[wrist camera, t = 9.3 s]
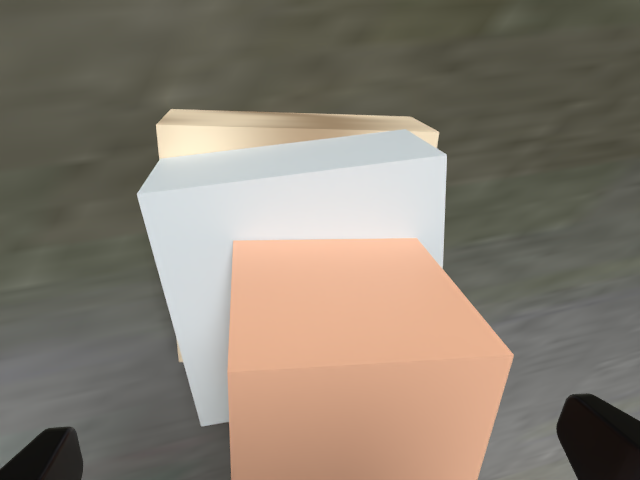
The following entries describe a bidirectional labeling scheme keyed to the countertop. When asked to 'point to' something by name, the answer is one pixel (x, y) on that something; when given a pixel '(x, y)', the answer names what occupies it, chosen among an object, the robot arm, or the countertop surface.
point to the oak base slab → (267, 131)
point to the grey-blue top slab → (276, 224)
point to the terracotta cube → (356, 364)
